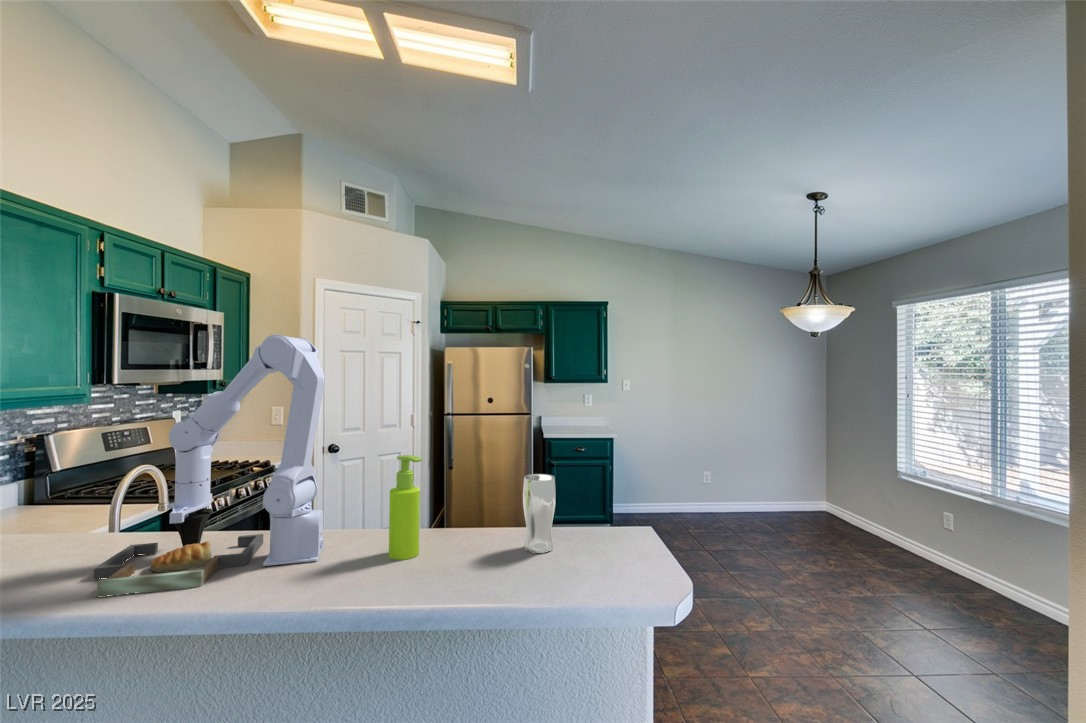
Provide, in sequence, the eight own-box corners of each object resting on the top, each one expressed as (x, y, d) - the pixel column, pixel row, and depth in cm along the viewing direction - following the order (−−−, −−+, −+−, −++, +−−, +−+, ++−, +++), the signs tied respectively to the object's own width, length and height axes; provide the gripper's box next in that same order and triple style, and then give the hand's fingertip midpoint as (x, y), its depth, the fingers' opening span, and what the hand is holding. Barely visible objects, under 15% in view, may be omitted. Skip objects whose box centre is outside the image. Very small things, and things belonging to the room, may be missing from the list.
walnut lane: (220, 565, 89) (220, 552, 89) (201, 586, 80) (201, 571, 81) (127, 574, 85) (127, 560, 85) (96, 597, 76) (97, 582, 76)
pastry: (149, 578, 84) (150, 557, 84) (150, 567, 89) (150, 546, 89) (213, 565, 90) (214, 545, 90) (210, 555, 95) (210, 535, 95)
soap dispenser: (406, 563, 91) (407, 459, 91) (382, 556, 94) (384, 456, 95) (428, 553, 96) (429, 455, 96) (405, 547, 99) (406, 452, 100)
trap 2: (263, 543, 101) (263, 533, 101) (245, 565, 89) (245, 554, 89) (239, 545, 100) (239, 535, 100) (218, 567, 88) (218, 557, 88)
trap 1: (157, 552, 95) (157, 542, 95) (124, 577, 84) (124, 565, 84) (130, 554, 94) (131, 544, 94) (93, 580, 83) (93, 568, 83)
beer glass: (550, 556, 95) (550, 481, 95) (517, 552, 97) (518, 479, 97) (558, 544, 102) (559, 474, 102) (528, 541, 103) (528, 472, 104)
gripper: (185, 474, 100) (183, 538, 99) (150, 490, 86) (148, 565, 86) (223, 472, 102) (222, 535, 101) (195, 488, 88) (193, 561, 88)
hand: (191, 549), depth 94 cm, fingers closed
